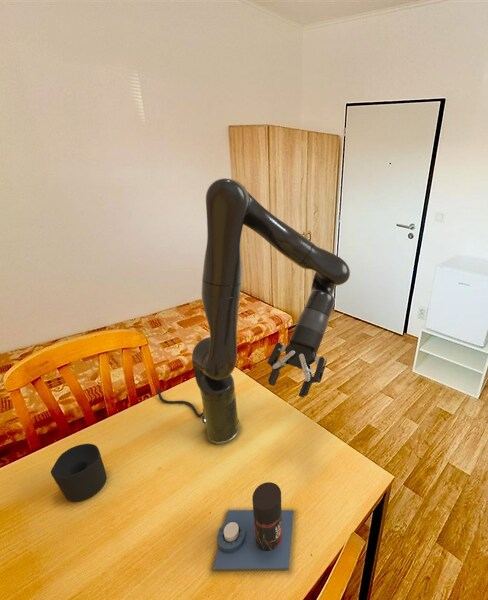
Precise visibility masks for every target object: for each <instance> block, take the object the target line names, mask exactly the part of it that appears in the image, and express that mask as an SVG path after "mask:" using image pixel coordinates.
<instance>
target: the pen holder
mask: <svg viewBox="0 0 488 600" xmlns="http://www.w3.org/2000/svg"><path fill="white" fill-rule="evenodd" d="M50 475H51V476H52V478H53V480H54V481H55V483H56V485H57V486H58V488H59V490H60V491H61V493H62V495H63V496H64V498H65V499H66V500H67V501H69V502H72V503H79V502H84V501H86V500H89V499H90V498H92V497H94V496H95V495H97V493H99V492H100V491H101V489H102V488H103V487H104V485H105V484H106V483H107V478H108V477H107V472H106V469H105V465H104V462H103V459H102V456H101V452H100V449H99V447H98V446H97V445H96V444H94V443H81V444H77V445H74V446H73V447H70V448H68V449H66V450H65V451H63V452H62V453H61V454H60V455H59V456H58V458H57V459H56V461H55V463H54V465H53V466H52V468H51V470H50Z"/></svg>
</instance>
